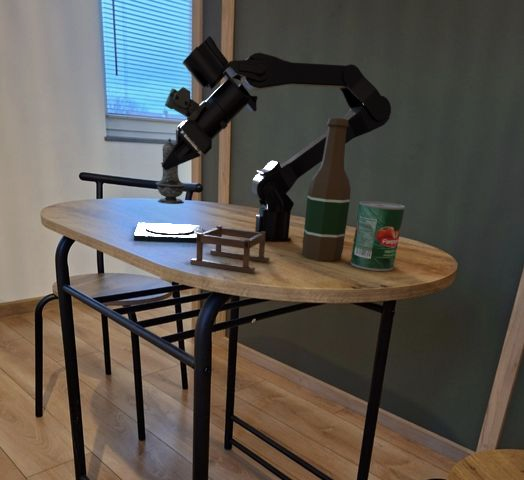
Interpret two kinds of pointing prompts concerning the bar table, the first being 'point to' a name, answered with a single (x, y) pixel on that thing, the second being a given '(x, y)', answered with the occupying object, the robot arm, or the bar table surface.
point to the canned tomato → (377, 235)
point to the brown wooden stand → (216, 238)
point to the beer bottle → (328, 199)
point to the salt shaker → (170, 180)
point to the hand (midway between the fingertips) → (163, 167)
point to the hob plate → (167, 232)
